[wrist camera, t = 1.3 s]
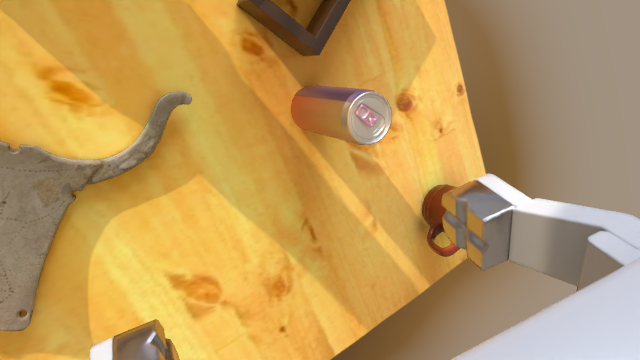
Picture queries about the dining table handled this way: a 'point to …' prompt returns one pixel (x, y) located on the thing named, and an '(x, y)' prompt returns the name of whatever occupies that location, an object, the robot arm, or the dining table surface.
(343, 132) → the beverage can
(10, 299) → the decorative wall piece
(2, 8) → the dining table surface
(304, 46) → the holder
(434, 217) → the mug
